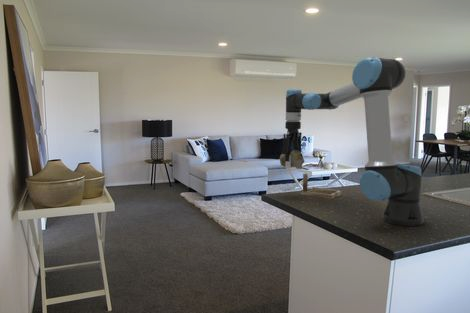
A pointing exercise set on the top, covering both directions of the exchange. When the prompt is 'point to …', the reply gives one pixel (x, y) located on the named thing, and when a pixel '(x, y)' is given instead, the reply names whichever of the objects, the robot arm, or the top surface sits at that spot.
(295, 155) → the rock
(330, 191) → the wooden tray
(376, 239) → the top surface
